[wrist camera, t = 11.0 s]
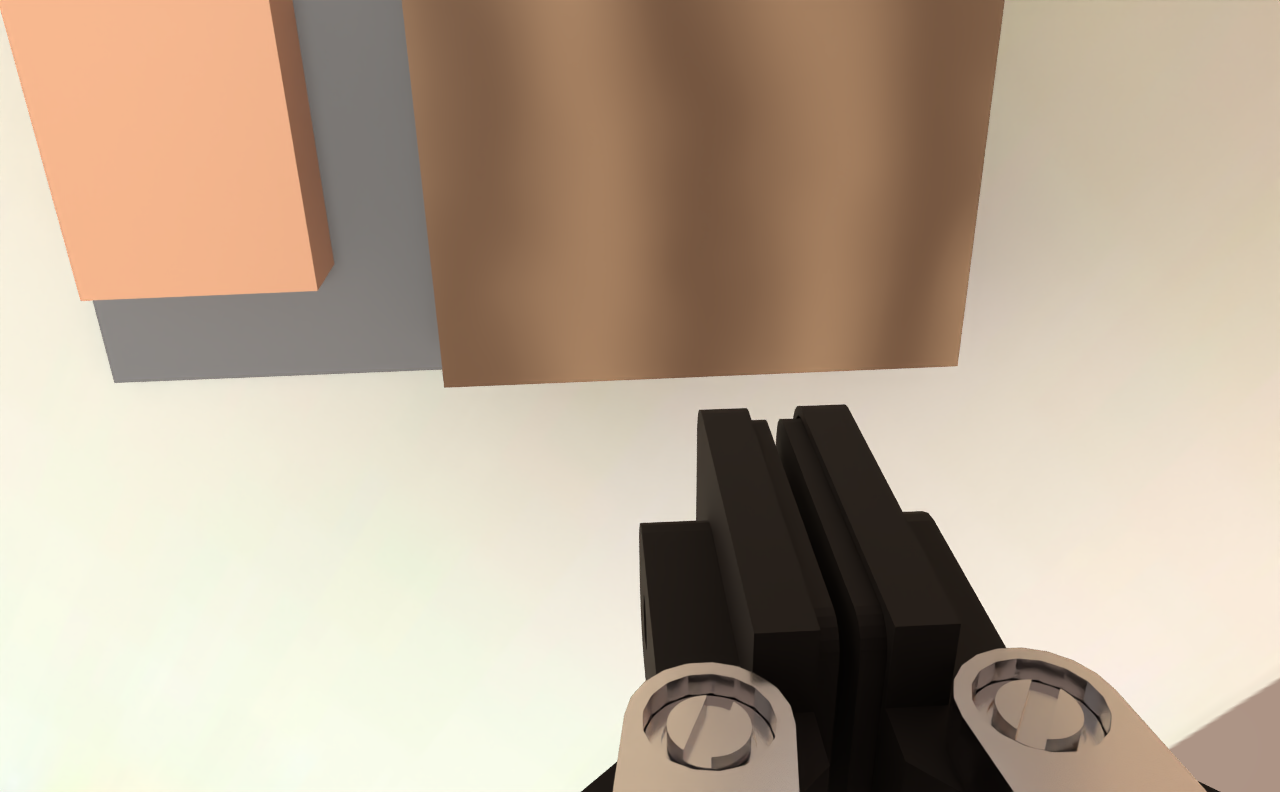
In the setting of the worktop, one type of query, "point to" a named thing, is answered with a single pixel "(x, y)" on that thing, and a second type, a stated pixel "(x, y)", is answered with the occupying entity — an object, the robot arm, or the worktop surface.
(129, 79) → the peach flat block
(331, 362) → the mat
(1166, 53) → the worktop surface
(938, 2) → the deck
